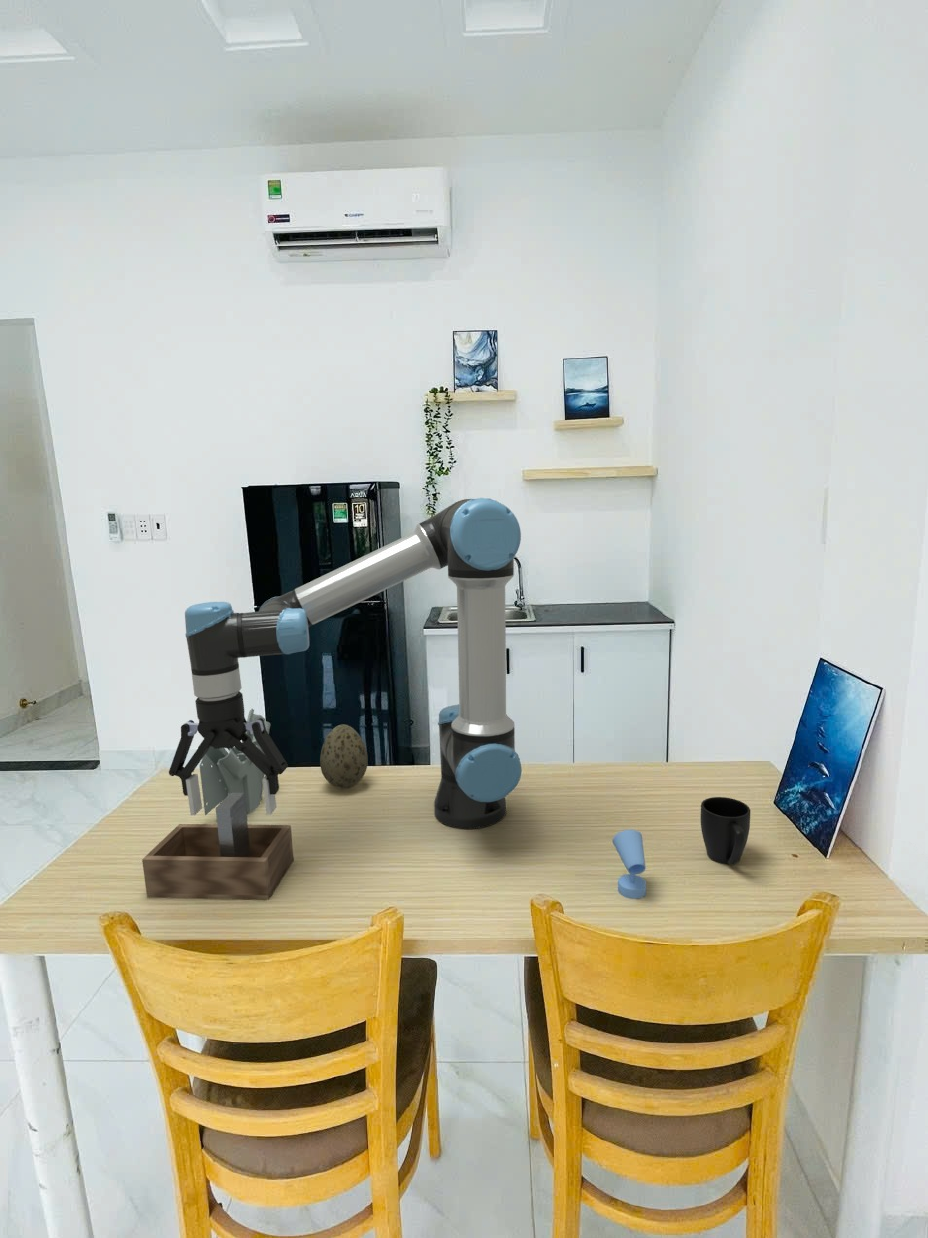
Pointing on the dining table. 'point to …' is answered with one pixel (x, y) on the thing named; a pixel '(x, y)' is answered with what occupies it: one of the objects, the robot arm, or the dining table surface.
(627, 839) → the spotlight
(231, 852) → the angle bracket
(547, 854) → the dining table surface
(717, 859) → the mug
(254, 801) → the bracket
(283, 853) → the open wooden box
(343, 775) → the decorative egg
